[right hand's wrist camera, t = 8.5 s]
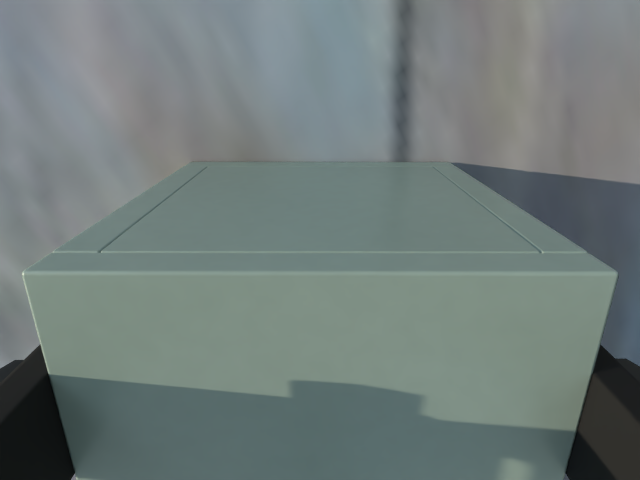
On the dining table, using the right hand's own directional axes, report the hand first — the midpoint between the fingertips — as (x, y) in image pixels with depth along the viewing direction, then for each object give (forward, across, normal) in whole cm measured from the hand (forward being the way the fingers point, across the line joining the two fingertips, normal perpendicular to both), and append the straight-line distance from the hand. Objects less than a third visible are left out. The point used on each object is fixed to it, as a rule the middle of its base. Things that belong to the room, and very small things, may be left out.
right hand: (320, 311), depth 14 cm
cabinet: (+6, 0, -7) cm, 10 cm away
